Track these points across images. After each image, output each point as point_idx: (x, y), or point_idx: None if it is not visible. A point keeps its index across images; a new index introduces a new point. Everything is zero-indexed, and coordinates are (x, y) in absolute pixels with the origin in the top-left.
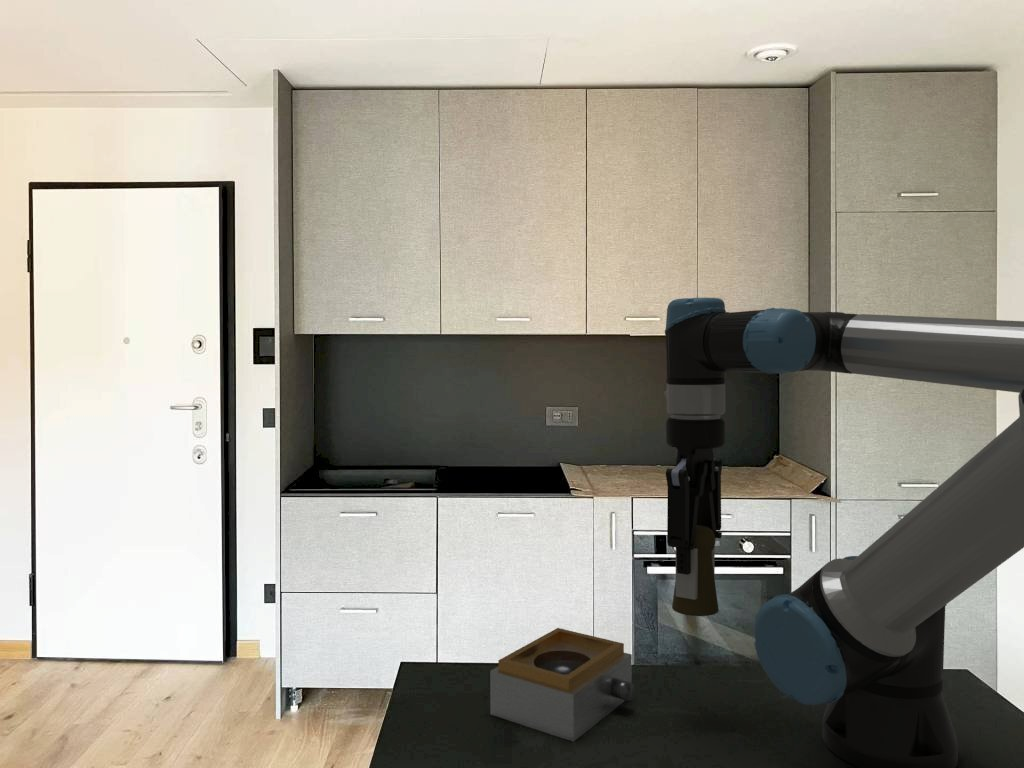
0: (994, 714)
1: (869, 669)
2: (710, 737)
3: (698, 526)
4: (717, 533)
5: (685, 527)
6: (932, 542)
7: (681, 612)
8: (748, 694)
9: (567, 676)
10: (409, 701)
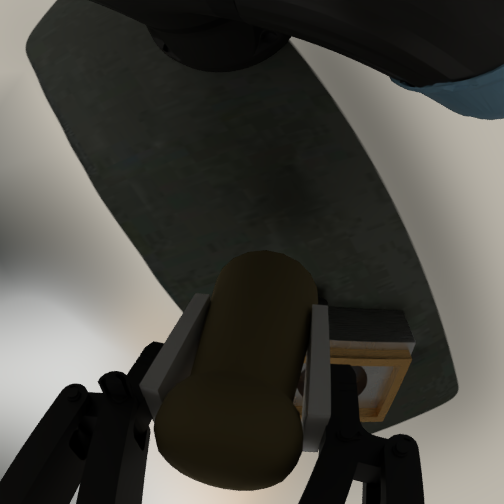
0: None
1: None
2: (325, 187)
3: (208, 471)
4: (114, 391)
5: (420, 500)
6: None
7: None
8: (179, 183)
9: (403, 364)
10: (375, 427)
